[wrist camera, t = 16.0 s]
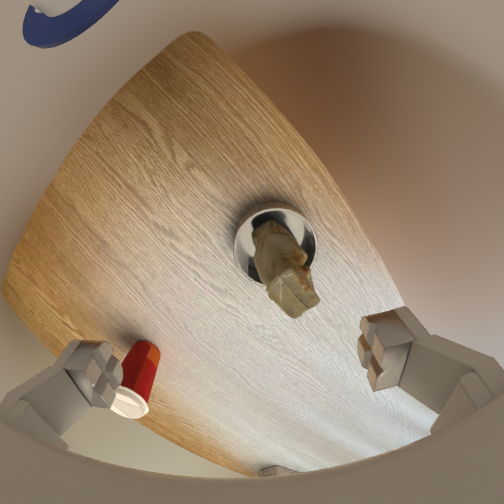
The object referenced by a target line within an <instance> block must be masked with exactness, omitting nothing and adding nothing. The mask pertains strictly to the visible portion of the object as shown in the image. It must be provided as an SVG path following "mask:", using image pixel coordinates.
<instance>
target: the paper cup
mask: <svg viewBox="0 0 504 504" xmlns="http://www.w3.org/2000/svg"><path fill="white" fill-rule="evenodd" d="M159 360H160V352H159V350H158V348H157V347H156V346H155V345H153V344H152V343H150V342H147V341H138V342H136V343H135V344H134V345H133V347H132V348H131V350H130V351H129V353H128V354H127V356H126V357H125V359H124V360H123V362H122V364H121V365H122V369H123V380H122V382H121V385H120V386H119V387H117V388H116V389H115V392H116V396H115V399H114V401H113V403H112V406H111V408H110V409H112V410H113V411H114V412H116V413H117V414H119V415H121V416H124V417H127V418H132V419H137V418H140V417H142V416H144V415H145V414H146V413H147V412H148V410H149V408H148V405H147V404H148V400H149V396H150V392H151V389H152V385H153V382H154V378H155V375H156V371H157V367H158V364H159Z"/></svg>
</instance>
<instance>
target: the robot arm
mask: <svg viewBox="0 0 504 504" xmlns="http://www.w3.org/2000/svg"><path fill="white" fill-rule="evenodd" d="M24 1H26V2H27V3H29V4H30V5H31V6H33V7H34V8H35V12H37V13H44V14H45V15H46V16H48V17H55V16H59V15H61V14H63V13H65V12H67V11H68V10H70V9H72V8H73V7H74V6H76V5H77V4H78V3H79V2H81V1H82V0H24ZM360 329H361V331H362V335H361V336H360V337H359V338H358V346H357V347H358V356H359V360H360V362H361V365H362V367H364V368H366V369H368V373H367V378H368V381H369V383H370V385H371V387H372V390H373V392H375V391H379V390H383V389H386V388H390V387H394V386H397V385H398V387H400V388H401V389H403V390H404V391H405V392H407V393H408V394H410V395H411V396H413V397H414V398H416V399H417V400H418V401H420V402H421V403H423V404H424V405H426V406H427V407H429V408H430V409H432V410H433V411H435V412H436V413H437V414H439V415H438V417H437V419H436V420H435V422H434V423H433V425H432V426H431V429H430V432H431V435H429V436H427V437H424V438H422V439H420V440H417V441H415V442H413V443H410V444H408V445H405V446H402V447H400V448H397V449H394V450H391V451H388V452H385V453H382V454H379V455H376V456H373V457H370V458H366V459H363V460H359V461H355V462H352V463H348V464H343V465H339V466H335V467H330V468H325V469H320V470H314V471H308V472H302V473H295V474H287V475H278V476H267V477H250V478H205V477H189V476H178V475H170V474H161V473H155V472H149V471H143V470H137V469H132V468H127V467H123V466H118V465H114V464H110V463H106V462H102V461H99V460H95V459H92V458H89V457H85V456H82V455H79V454H76V453H73V452H70V451H68V450H67V449H68V444H67V443H66V442H65V441H64V440H63V439H62V438H61V436H62V435H63V434H64V433H65V432H66V431H67V430H68V429H69V428H70V427H71V426H72V425H73V424H74V423H75V422H77V421H78V419H80V418H81V417H82V416H83V415H84V414H85V413H86V412H87V411H88V410H89V409H90V408H91V406H95V407H103V408H111V406H112V403H113V401H114V399H115V396H116V392H115V389H116V388H117V387H119V386H120V385H121V382H122V380H123V369H122V365H121V363H120V361H119V360H118V359H117V358H116V357H115V356H113V351H114V350H113V348H112V347H111V345H110V343H109V342H106V341H95V340H76V339H75V340H72V341H71V342H70V343H69V344H68V346H67V347H66V348H65V350H64V351H63V352H62V354H61V355H60V357H59V358H58V359H57V361H56V362H55V364H54V365H53V367H48V368H47V369H45V370H44V371H42V372H40V373H39V374H37V375H35V376H34V377H32V378H31V379H29V380H27V381H26V382H24V383H22V384H21V385H19V386H18V387H16V388H14V389H13V390H11V391H10V392H9V393H7V394H6V396H5V397H4V399H3V401H2V402H1V403H0V504H504V370H503V368H502V367H501V366H500V365H499V363H498V362H497V361H496V360H495V359H494V358H493V357H490V356H487V355H485V354H483V353H480V352H477V351H475V350H472V349H470V348H467V347H465V346H462V345H460V344H457V343H455V342H452V341H450V340H447V339H445V338H442V337H440V336H437V335H435V334H434V335H430V334H429V333H428V332H427V330H426V329H425V328H424V326H423V325H422V324H421V323H420V322H419V320H418V319H417V318H416V317H415V316H414V314H413V313H412V312H411V311H410V310H409V309H408V308H407V307H405V306H404V307H400V308H396V309H392V310H391V311H386V312H382V313H377V314H373V315H368V316H364V317H362V318H361V321H360Z"/></svg>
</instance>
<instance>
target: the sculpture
mask: <svg viewBox="0 0 504 504" xmlns="http://www.w3.org/2000/svg"><path fill="white" fill-rule="evenodd" d="M251 236H252V240H253V243H254V246H255V248H256V251H255V254H254V258H253V259H254V263H255V266H256V269H257V272H258V275H259V278H260V280H261V282H262V283H263V284H264V285H265V286H267V288H266V290H267V291H268V295H269V298H270V299H271V300H274V302H275V303H276V304H277V305H278V306H279V307H280V308H281V309H282V310H283V311H284V312H285V313H286V314H287V315H288V316H290V317H291V318H294V319H296V318H298V317H300V316H302V315H303V313H304V312H305V311H307V310H308V309H310V308H313V307H314V306H316V305H317V304H319V302H320V298H319V297H318V296H317V294H316V293H315V290H314V286H313V282H312V278H311V269H310V267H308V266H303V264H304V263H305V262H306V260H307V253H306V252H305V251H304V250H303V249H302V248H301V247H300V246H299V244H298V243H297V241H296V240H295V238H294V237H293V236H292V235H291V234H290V233H289V232H288V231H287V230H286V229H285V228H284V227H283V226H282V225H281V224H279V223H278V222H277V221H275V220H274V219H270V220H268V221H266V222H264V223H263V224H261V225H260V226H259V227H257V228H256V229H255V230H254V231H253V232H252V233H251Z"/></svg>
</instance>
